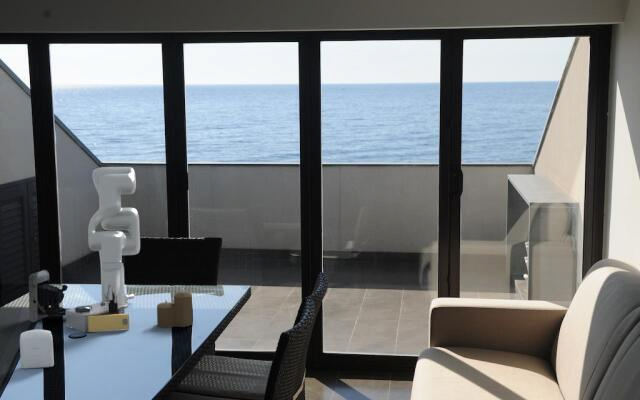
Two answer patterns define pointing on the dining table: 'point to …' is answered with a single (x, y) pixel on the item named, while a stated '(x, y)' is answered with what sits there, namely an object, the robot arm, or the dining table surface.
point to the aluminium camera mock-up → (77, 315)
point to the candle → (175, 311)
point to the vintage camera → (44, 297)
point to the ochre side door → (106, 322)
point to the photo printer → (36, 349)
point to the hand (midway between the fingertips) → (113, 312)
